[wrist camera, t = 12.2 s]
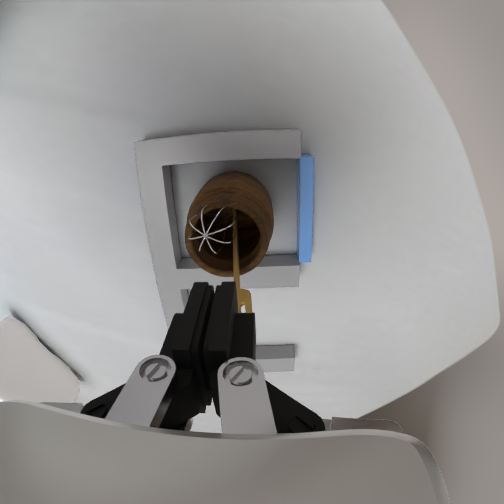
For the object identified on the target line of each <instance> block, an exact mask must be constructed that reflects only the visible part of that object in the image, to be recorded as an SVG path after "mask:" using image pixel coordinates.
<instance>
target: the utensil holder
mask: <svg viewBox="0 0 504 504" xmlns="http://www.w3.org/2000/svg"><path fill="white" fill-rule="evenodd" d="M273 227H274V218H273V210H272V204H271V200H270V197H269V195H268V192H267V191H266V189H265V188H264V186H263V185H262V184H261V183H260V182H259V181H258V180H257V179H255V178H254V177H252V176H250V175H248V174H245V173H241V172H227V173H223V174H220V175H217V176H215V177H214V178H212V179H211V180H209V181H208V182H207V183H206V184H205V185H204V186H203V187H202V189H201V190H200V191H199V193H198V194H197V196H196V197H195V199H194V200H193V202H192V204H191V206H190V209H189V212H188V216H187V224H186V229H185V243H186V248H187V250H188V253H189V255H190V256H191V258H192V259H193V261H194V262H195V263H196V264H197V265H198V266H199V267H200V268H202V269H203V270H205V271H206V272H208V273H210V274H213V275H216V276H221V277H234V281H235V282H236V289H237V301H238V313H241V306H242V305H245V309H246V313H252V304H251V294H250V292H249V291H248V290H245V289H240V275H243V274H246V273H248V272H250V271H251V270H253V269H254V268H255V267H257V266H258V265H259V264H260V262H261V261H262V260H263V258H264V256H265V254H266V252H267V249H268V246H269V242H270V239H271V237H272V233H273Z"/></svg>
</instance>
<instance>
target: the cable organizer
mask: <svg viewBox="0 0 504 504" xmlns="http://www.w3.org/2000/svg"><path fill="white" fill-rule="evenodd" d="M79 390H80V384H79V381H78V379H77V377H76V376H75V375H74V373H73V372H72V371H71V368H70V367H69V366H68V365H66V364H65V363H64V362H63V361H62V360H61V359H59V358H58V357H57V356H56V355H54V354H52V353H51V352H50V351H49V350H48V349H47V348H46V347H45V346H44V345H43V344H42V343H41V342H40V341H39V340H38V337H37V336H36V335H35V334H34V333H33V332H32V331H31V330H30V329H29V328H28V327H27V326H26V324H25V323H23V322H20V321H19V320H17V319H16V318H13V317H7V318H5V319H4V320H3V321H2V322H1V323H0V402H2V401H10V400H21V401H30V402H36V403H40V402H56V403H74V401H75V399H76V397H77V395H78V393H79Z"/></svg>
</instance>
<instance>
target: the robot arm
mask: <svg viewBox="0 0 504 504" xmlns="http://www.w3.org/2000/svg"><path fill="white" fill-rule="evenodd" d="M212 398H213V402H214V405H215V410H216V414H217V415H218V416H219V417H220V418H221V427H222V433H206V432H192V431H190V430H191V427H192V424H193V418H192V417H194V416H196V415H197V414H199V413H205V410H206V405H209V406H210V405H211V402H212ZM0 504H451V502H450V499H449V495H448V492H447V489H446V485H445V482H444V480H443V477H442V475H441V472H440V469H439V467H438V465H437V463H436V460H435V459H434V457H433V455H432V453H431V452H430V450H429V449H428V448H427V446H426V445H425V444H424V443H422V442H421V441H420V440H418V439H417V438H414V437H412V436H409V435H406V434H403V431H402V428H401V427H400V426H399V425H398V424H397V423H395V422H393V421H390V420H378V419H377V420H376V419H354V418H339V417H332V420H329V419H322V418H321V417H320V416H318V415H317V414H316V413H314V412H313V411H311V410H310V409H308V408H306V407H305V406H303V405H302V404H300V403H299V402H297V401H296V400H294V399H293V398H291V397H290V396H288V395H287V394H285V393H284V392H282V391H281V390H279V389H278V388H276V387H275V386H273V385H272V384H270V383H269V382H267V381H266V380H265V377H264V373H263V369H262V367H261V365H260V364H259V363H258V362H257V361H256V329H255V313H238V301H237V289H236V282H235V281H226V282H222V283H221V285H217V286H216V290H215V294H214V287H213V285H209V283H208V282H194V284H193V287H192V289H191V292H190V295H189V298H188V301H187V304H186V307H185V310H184V313H175V314H174V316H173V319H172V321H171V324H170V327H169V330H168V332H167V335H166V338H165V341H164V343H163V346H162V349H161V352H160V354H159V355H153V356H149V357H146V358H144V359H143V360H142V361H140V362H139V363H138V365H137V366H136V368H135V369H134V371H133V372H132V374H131V376H130V377H129V379H128V381H127V382H126V383H125V384H123V385H122V386H120V387H118V388H116V389H114V390H112V391H110V392H108V393H106V394H104V395H102V396H100V397H98V398H96V399H94V400H92V401H90V402H89V403H87V404H86V405H85V406H83V404H82V403H56V402H40V403H36V402H30V401H21V400H10V401H2V402H0Z"/></svg>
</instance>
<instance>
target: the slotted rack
mask: <svg viewBox="0 0 504 504" xmlns="http://www.w3.org/2000/svg"><path fill="white" fill-rule="evenodd" d="M134 147H135V156H136V164H137V172H138V180H139V187H140V194H141V201H142V207H143V213H144V219H145V225H146V231H147V236H148V242H149V247H150V252H151V257H152V262H153V267H154V271H155V276H156V281H157V285H158V290H159V294H160V298H161V302H162V307H163V311H164V315H165V319H166V323H167V326H168V330H169V327H170V324H171V321H172V319H173V316H174V314H175V313H184V310H185V307H186V304H187V301H188V292H187V289H192V287H193V284H194V282H208V283H209V285H213V287H214V289H216V286H217V285H221V283H222V282H226V281H234V277H221V276H216V275H213V274H210V273H208V272H206V271H205V270H203V269H202V268H200V267H199V266H198V265H197V264H196V263H195V262H194V261H193V259H192V258H182V256H181V250H180V243H179V237H178V230H177V223H176V215H175V208H174V200H173V192H172V183H171V174H170V165H175V164H185V163H197V162H211V161H227V160H247V159H280V158H298V212H297V254H293V255H265V256H264V258H263V260H262V261H261V262H260V264H259V265H258V266H257V267H255V268H254V269H253V270H251V271H250V272H248V273H246V274H243V275H240V289H243V288H276V287H299V270H300V265H299V263H300V262H311V251H312V227H313V190H314V157H313V156H311V155H301V130H298V129H268V130H241V131H224V132H210V133H198V134H188V135H179V136H170V137H162V138H154V139H147V140H142V141H138V142H135V143H134ZM256 361H257V362H258V363H259V364H260V365H261V367H262V369H263V372H283V371H294V361H295V356H294V349H293V345H272V346H256Z"/></svg>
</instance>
